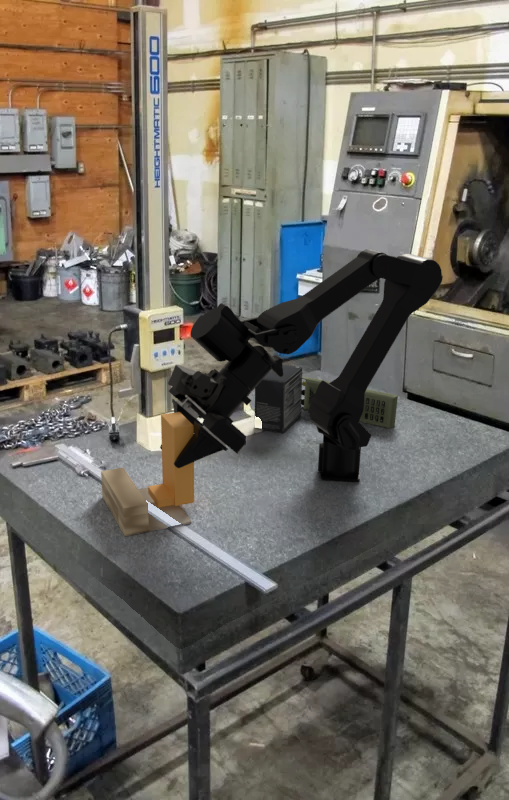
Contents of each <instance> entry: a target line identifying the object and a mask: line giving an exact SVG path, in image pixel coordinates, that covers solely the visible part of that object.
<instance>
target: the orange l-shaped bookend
mask: <svg viewBox="0 0 509 800" xmlns="http://www.w3.org/2000/svg"><path fill="white" fill-rule="evenodd" d="M160 426H161V427H160V428H161V429H160V430H161V431H160V433H161V434H160V435H161V444H162V450H161V465H162V466H161V469H162V471H161V472H162V483H160V484H154V485H149V486H147V488H148V494H149V495H150V497H151V498H152V499H153V501H154V502H155V504H156V505H157V507H158V508H159V507H164V506H170V505H175V506H178V505H180V506H182V505H183V506H184V505H187V504H192V503H193V504H194V503H195V462H192V463H190V464H188V465H186V466H183V467H181V468H177V467H176V466H175V465H174V462H175V460H176V459H177V457H178V456H179V454H180V453H181V451H182V450H183V449H184V447H185V446H186V444H187V443H188V442H189V440H190V439H191V437H192V436H193V434H194V426H193V425H192V424H191V423H190V422H189V421H188V420H187V419H186V418H185V417H184V416H183V415H182V414H181V413H180V412H175V413H174V412H170V413H163V414H160Z"/></svg>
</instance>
